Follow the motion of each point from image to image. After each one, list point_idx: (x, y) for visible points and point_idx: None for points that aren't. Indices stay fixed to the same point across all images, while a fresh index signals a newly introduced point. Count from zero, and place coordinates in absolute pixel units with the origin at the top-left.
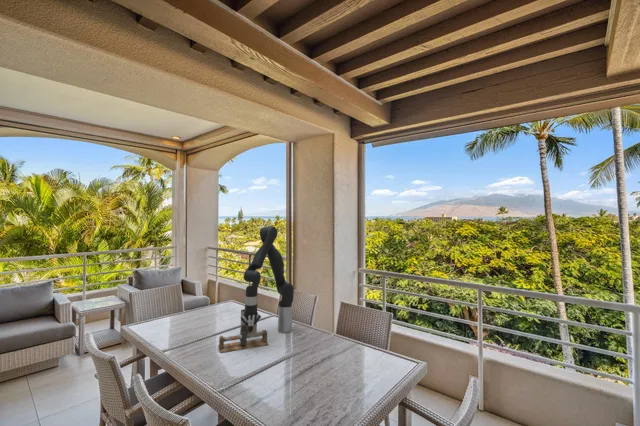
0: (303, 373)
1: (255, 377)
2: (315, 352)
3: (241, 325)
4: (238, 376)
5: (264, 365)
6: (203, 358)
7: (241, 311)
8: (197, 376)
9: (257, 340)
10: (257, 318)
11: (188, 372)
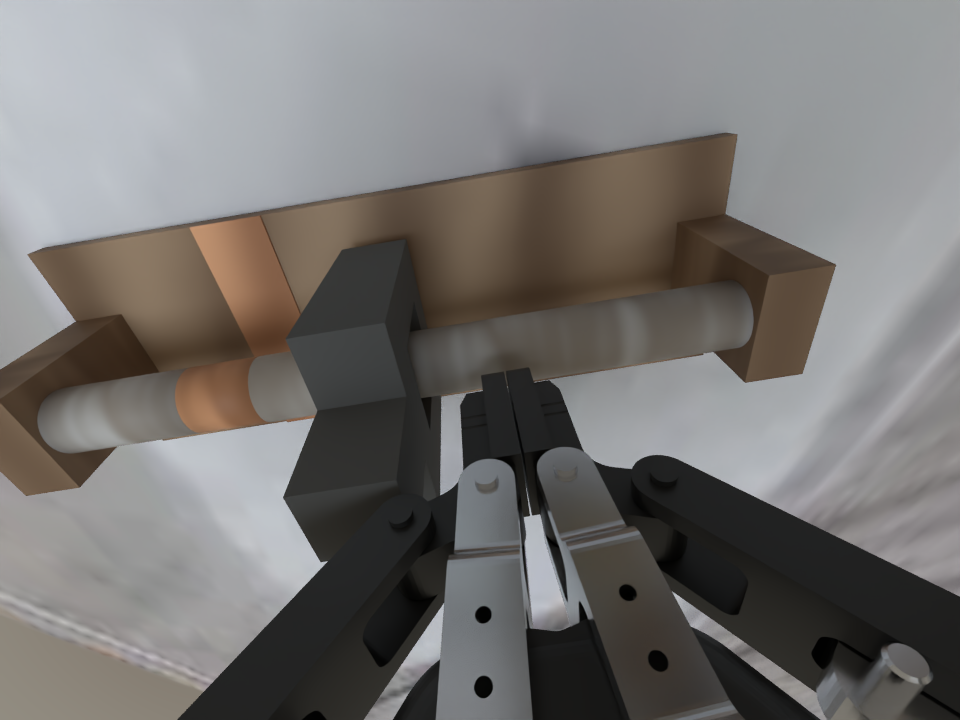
0: None
1: None
2: (955, 527)
3: (289, 503)
4: None
5: (551, 609)
6: None
7: None
8: (151, 653)
9: (608, 219)
10: (805, 674)
11: (58, 624)
